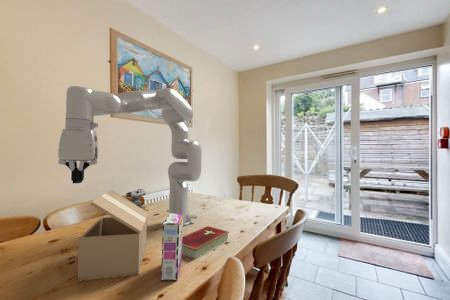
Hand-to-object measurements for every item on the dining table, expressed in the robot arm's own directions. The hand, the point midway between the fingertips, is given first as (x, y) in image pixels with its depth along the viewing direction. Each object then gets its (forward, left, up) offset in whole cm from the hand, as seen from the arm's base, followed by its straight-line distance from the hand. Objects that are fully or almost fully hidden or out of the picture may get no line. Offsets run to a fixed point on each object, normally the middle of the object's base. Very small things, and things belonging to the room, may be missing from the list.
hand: (77, 182), depth 69 cm
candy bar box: (-30, +10, -27) cm, 41 cm away
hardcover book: (-42, -7, -27) cm, 50 cm away
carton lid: (-14, 0, -10) cm, 17 cm away
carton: (-12, 0, -26) cm, 29 cm away
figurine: (-10, -50, -27) cm, 58 cm away
